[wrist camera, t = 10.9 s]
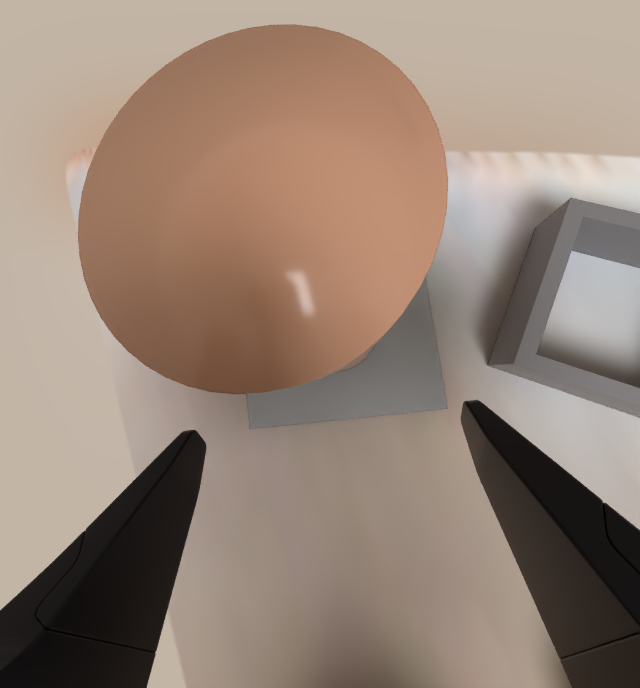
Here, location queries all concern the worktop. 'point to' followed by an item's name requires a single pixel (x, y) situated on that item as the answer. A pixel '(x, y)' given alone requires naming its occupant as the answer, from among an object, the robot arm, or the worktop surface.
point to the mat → (367, 379)
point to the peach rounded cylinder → (263, 209)
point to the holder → (540, 291)
